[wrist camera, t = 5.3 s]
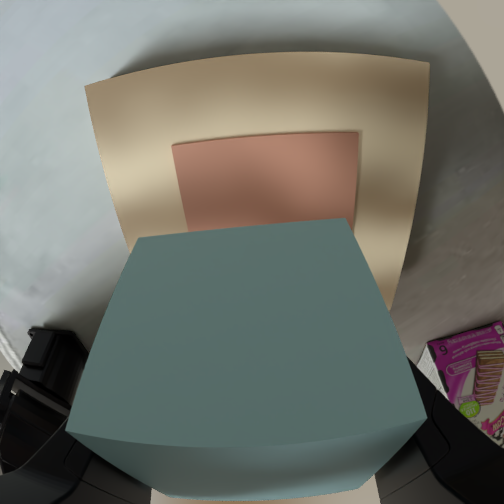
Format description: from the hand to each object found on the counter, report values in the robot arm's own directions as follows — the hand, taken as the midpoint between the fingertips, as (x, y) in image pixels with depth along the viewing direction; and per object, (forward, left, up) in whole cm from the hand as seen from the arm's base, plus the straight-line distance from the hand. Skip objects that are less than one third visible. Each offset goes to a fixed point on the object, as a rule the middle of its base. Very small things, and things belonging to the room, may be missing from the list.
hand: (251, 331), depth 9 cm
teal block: (0, 0, -1) cm, 1 cm away
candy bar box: (-20, -22, -11) cm, 32 cm away
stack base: (-1, -1, -11) cm, 11 cm away
